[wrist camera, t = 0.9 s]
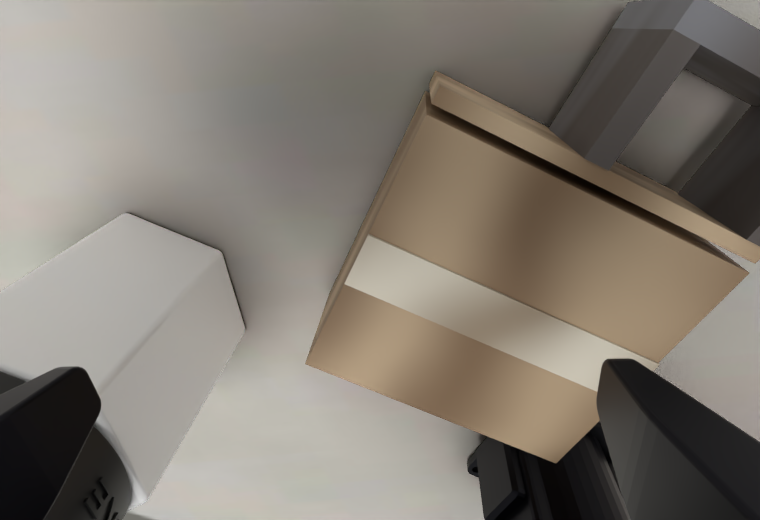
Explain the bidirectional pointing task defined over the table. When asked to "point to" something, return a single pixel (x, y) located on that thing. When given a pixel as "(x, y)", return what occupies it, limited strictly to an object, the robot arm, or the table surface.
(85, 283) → the jar
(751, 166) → the flap
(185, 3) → the table surface
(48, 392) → the robot arm
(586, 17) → the table surface
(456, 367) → the carton
